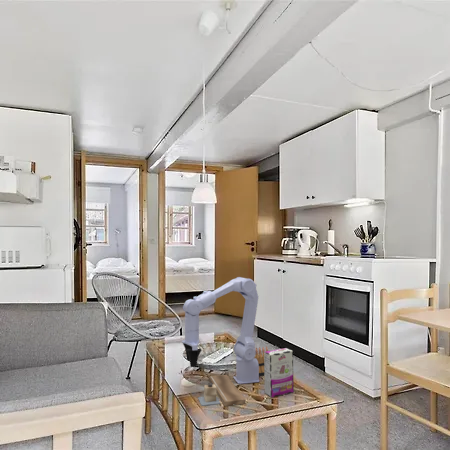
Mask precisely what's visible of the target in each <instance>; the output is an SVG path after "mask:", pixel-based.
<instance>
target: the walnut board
mask: <svg viewBox="0 0 450 450" xmlns="http://www.w3.org/2000/svg"><path fill="white" fill-rule="evenodd" d="M208 383H212V385H213V384H215V386H216V396H218V399H220V400H219V401H220V402H221V403H222V404H223V406H224V407H230V406H234V405H233V404H236V405H235V406H238V405H239V404H241V405H246V404H247V402H246V398H245V397H244V396H243V394H242V393H241V391H240V390H239V389H238V388H237V387H236V385H235V384H234V382H233V381H232V380H231V378H230V377H229V376H228V375H227V374H222V375H221V374H220V375H219V374H218V375H211V376H208Z"/></svg>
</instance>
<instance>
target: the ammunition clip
mask: <svg viewBox="0 0 450 450" xmlns="http://www.w3.org/2000/svg"><path fill="white" fill-rule="evenodd" d="M255 351H256V355H255V357H254V358H256V359H257V361H258V364H259V377H262V376H264V352H266V351H269V348H268V346H265V348H264V346H262V348H261V347H258V348H257V347H255Z"/></svg>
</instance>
